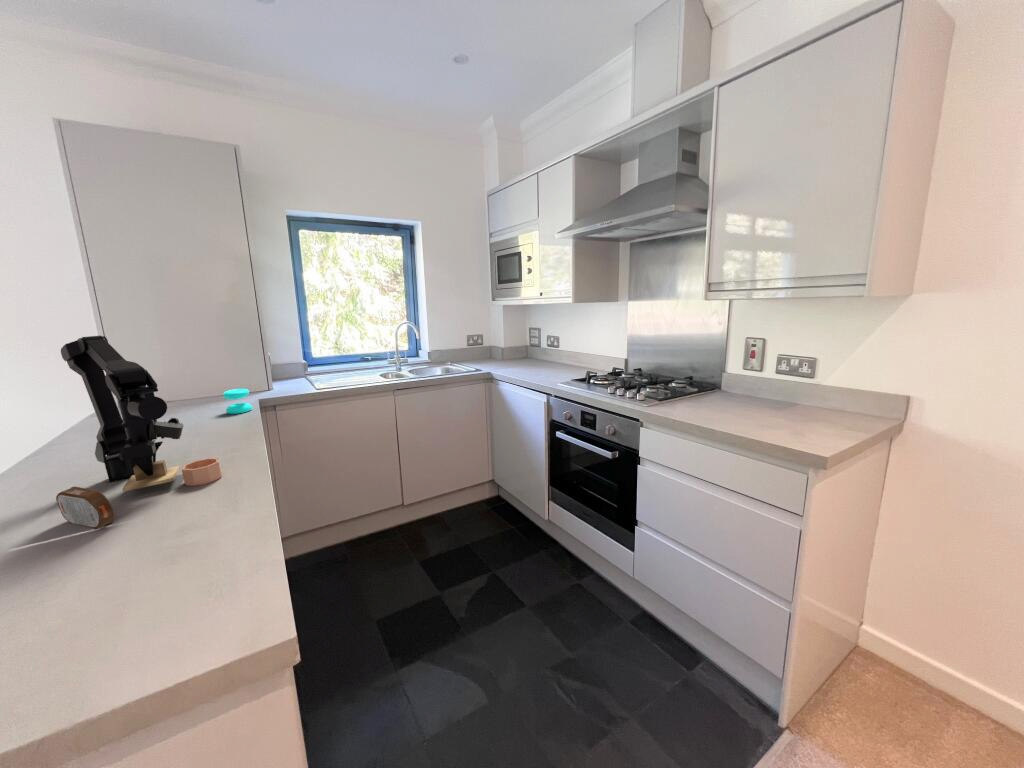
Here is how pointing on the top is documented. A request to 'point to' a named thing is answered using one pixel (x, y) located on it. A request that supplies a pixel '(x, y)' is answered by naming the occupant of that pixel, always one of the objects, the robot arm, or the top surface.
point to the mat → (153, 489)
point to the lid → (158, 477)
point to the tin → (85, 507)
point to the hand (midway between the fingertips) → (151, 473)
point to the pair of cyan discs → (237, 407)
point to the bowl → (202, 471)
